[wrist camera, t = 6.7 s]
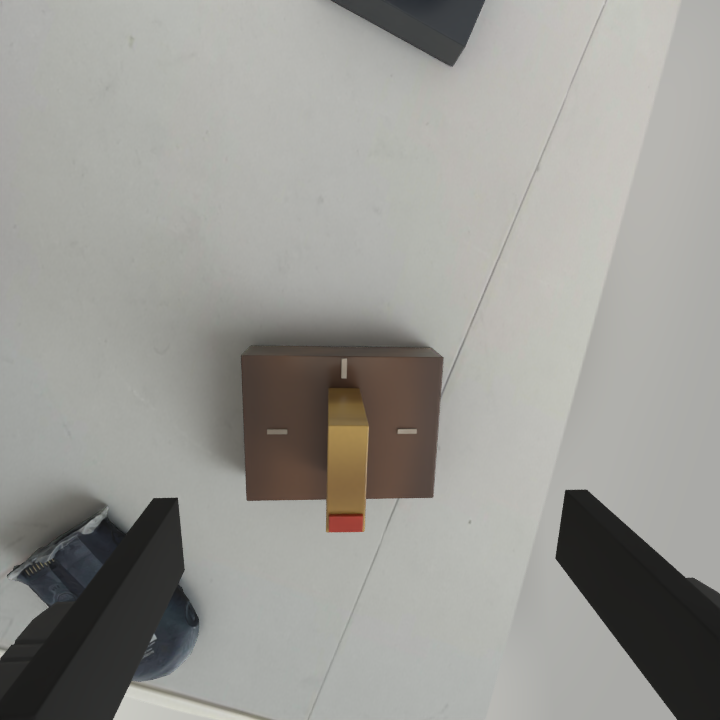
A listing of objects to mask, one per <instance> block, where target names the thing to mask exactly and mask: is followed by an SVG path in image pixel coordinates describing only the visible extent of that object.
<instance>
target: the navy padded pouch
mask: <svg viewBox="0 0 720 720" xmlns="http://www.w3.org/2000/svg"><path fill="white" fill-rule="evenodd" d="M108 509H109V508H108V506H107V507H106V508H105V509H103V510H101V511H99V512H98V513H96V514H95V515H93V516H92V517H90V518H89V519H87V520H86V521H84V522H82V523H81V524H79V525H77V526H76V527H74V528H73V529H71V530H70V531H68V532H66V533H64V534H63V535H61V536H59V537H58V538H56V539H55V540H54V541H52V542H51V543H50V544H48V546H46V547H42V548H39V549H38V550H37V551H36V552H35V553H34V554H33V555H32V556H31V557H30V558H29V559H28V560H27V561H26V562H24V563H22V564H21V565H17V566H14V568H13V571H11V572H10V573H9V574H8V575H7V577H8V579H9V580H14V581H20V582H22V583H24V584H27V585H28V586H29V587H30V588H31V589H32V590H33V591H34V592H35V593H36V594H37V595H38V596H39V597H40V599H41V600H43V601H44V602H45V603H46V604H47V605H48V606H49V607H50V606H52V605H53V604H54V603H55V602H70V601H76V600H77V599H78V597H79V596H80V595H81V593H82V592H83V591H84V589H85V588H86V587H87V585H88V584H89V583H90V581H91V580H92V579H93V577H94V576H95V575H96V574H97V572H98V571H99V570H100V568H101V567H102V566H103V564H104V563H105V562H106V560H107V559H108V558H109V556H110V555H111V554H112V552H113V551H114V550H115V549H116V547H117V546H118V545H119V543H120V542H121V541H122V539H123V538H124V537H125V535H126V534H124V533H123V532H121V531H119V530H118V529H117V527H115V526H114V525H112V524H111V523H110V522H109V521H108V518H107V514H108V513H107V511H108ZM198 632H199V619H198V616H197V614H196V612H195V610H194V608H193V607H192V605H191V603H190V602H189V599H188V598H187V597H186V595H185V594H184V592H183V589H182V588H181V587H180V586H179V585H177V587H176V589H175V591H174V593H173V595H172V597H171V599H170V602H169V604H168V606H167V608H166V610H165V612H164V614H163V616H162V618H161V620H160V622H159V624H158V626H157V629H156V631H155V633H154V635H153V637H152V639H151V641H150V643H149V645H148V647H147V649H146V651H145V654H144V656H143V658H142V660H141V662H140V664H139V666H138V668H137V670H136V672H135V674H134V676H133V678H132V681H138V682H141V681H147V680H153V679H156V678H160V677H163V676H166V675H169V674H170V673H172V672H173V671H174V670H175V669H177V668H178V667H179V666H180V665H181V664H182V663H183V662H184V661H185V660H186V659H187V658H188V657H189V656H190V654H191V653H192V651H193V648H194V646H195V643H196V641H197V637H198Z"/></svg>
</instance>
